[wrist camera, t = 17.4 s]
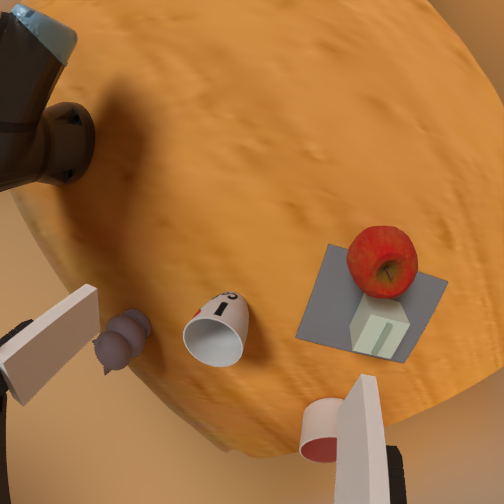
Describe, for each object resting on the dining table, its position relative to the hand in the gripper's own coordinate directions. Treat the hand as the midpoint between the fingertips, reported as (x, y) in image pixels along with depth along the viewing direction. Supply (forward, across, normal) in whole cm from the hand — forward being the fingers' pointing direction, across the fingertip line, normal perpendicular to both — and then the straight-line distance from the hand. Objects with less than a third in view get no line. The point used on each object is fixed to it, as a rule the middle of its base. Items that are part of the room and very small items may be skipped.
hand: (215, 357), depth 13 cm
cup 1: (+29, -4, -16) cm, 33 cm away
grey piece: (+29, +17, -10) cm, 35 cm away
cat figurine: (+29, -21, -27) cm, 45 cm away
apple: (+29, +13, 0) cm, 32 cm away
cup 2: (+29, +19, -34) cm, 48 cm away
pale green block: (+28, +17, -10) cm, 34 cm away
